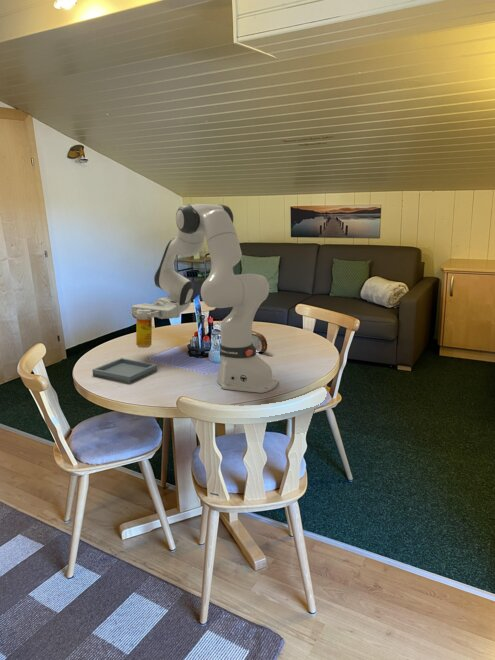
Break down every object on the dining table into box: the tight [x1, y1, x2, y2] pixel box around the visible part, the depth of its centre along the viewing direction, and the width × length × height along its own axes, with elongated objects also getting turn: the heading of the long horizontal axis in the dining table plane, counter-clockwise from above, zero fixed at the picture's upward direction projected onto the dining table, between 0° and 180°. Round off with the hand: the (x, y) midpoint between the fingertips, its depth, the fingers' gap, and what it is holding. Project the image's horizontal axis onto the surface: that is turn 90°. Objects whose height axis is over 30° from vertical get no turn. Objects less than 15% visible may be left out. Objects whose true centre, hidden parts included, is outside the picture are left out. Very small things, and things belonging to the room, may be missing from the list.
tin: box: [252, 330, 268, 353], centre depth 212 cm, size 15×3×8 cm, turn 34°
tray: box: [92, 357, 158, 384], centre depth 185 cm, size 18×16×2 cm
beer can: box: [135, 310, 153, 349], centre depth 197 cm, size 6×6×15 cm
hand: (142, 314), depth 195 cm, fingers closed on beer can, 5 cm apart
